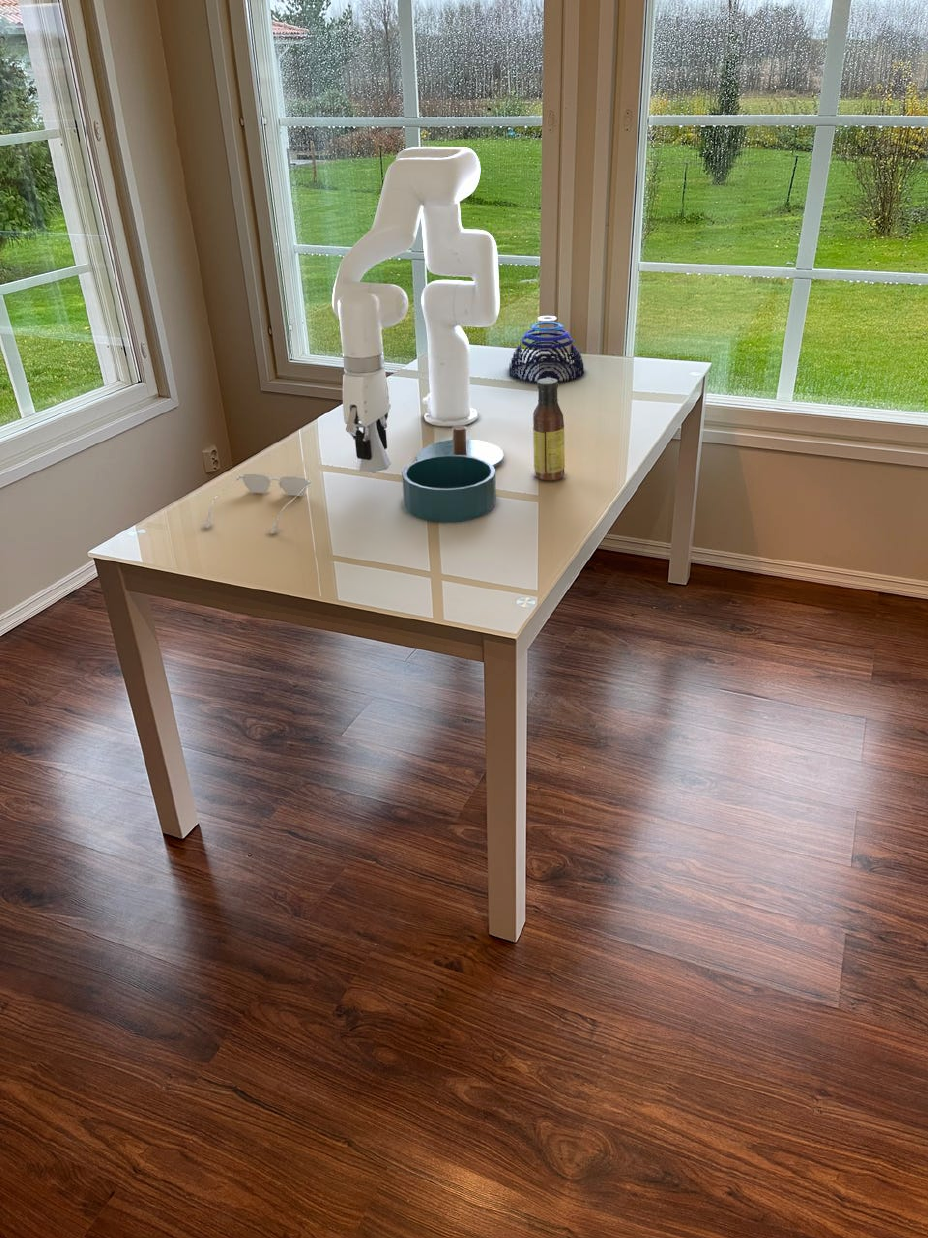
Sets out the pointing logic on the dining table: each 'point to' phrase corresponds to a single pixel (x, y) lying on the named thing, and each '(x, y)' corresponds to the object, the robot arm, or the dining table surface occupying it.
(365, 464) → the flask
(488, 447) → the lid
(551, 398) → the sauce bottle
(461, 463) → the pot
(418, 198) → the robot arm
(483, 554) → the dining table surface
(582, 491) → the dining table surface
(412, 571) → the dining table surface
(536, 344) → the decorative bowl
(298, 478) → the eyeglasses
